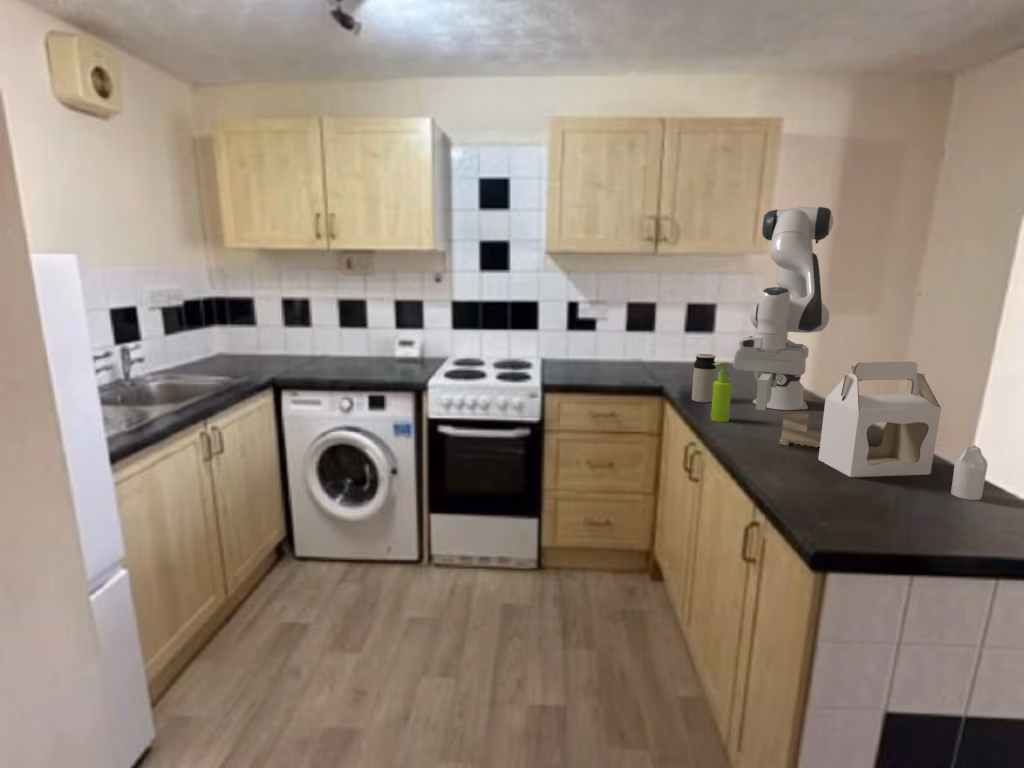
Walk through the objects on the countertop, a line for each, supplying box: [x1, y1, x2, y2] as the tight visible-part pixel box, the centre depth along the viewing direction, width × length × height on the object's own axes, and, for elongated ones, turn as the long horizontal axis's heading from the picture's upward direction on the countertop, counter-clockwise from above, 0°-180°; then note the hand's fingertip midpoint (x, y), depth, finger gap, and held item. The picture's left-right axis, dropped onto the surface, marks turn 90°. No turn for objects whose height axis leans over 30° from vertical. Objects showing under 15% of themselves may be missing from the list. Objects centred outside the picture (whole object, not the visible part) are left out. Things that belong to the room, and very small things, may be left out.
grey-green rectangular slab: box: [755, 372, 773, 411], centre depth 170 cm, size 14×2×9 cm, turn 150°
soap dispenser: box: [710, 361, 733, 423], centre depth 191 cm, size 6×7×20 cm
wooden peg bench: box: [778, 410, 822, 448], centre depth 165 cm, size 8×18×9 cm, turn 60°
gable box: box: [817, 361, 942, 478], centre depth 146 cm, size 22×13×28 cm, turn 95°
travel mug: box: [691, 353, 717, 404], centre depth 219 cm, size 8×8×18 cm
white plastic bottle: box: [950, 444, 988, 501], centre depth 129 cm, size 6×12×6 cm
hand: (766, 386), depth 174 cm, fingers closed on grey-green rectangular slab, 2 cm apart
